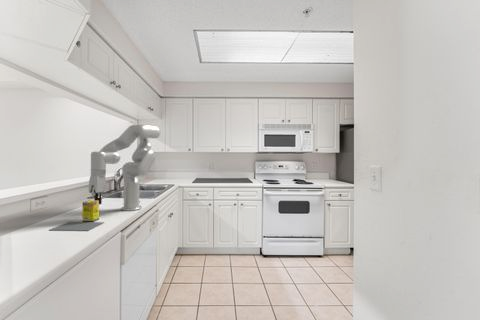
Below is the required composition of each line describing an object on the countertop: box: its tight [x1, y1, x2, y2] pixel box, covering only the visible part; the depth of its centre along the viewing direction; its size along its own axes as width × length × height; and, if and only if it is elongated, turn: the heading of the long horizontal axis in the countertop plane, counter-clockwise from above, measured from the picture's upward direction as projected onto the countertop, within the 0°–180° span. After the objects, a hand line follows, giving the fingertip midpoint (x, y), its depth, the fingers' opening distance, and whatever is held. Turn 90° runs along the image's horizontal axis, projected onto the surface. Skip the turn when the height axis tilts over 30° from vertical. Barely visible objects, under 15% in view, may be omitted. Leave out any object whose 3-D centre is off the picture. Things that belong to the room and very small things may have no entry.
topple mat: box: [49, 221, 105, 232], centre depth 125 cm, size 14×19×1 cm
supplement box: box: [81, 199, 100, 222], centre depth 135 cm, size 6×6×11 cm
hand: (98, 204), depth 142 cm, fingers closed
